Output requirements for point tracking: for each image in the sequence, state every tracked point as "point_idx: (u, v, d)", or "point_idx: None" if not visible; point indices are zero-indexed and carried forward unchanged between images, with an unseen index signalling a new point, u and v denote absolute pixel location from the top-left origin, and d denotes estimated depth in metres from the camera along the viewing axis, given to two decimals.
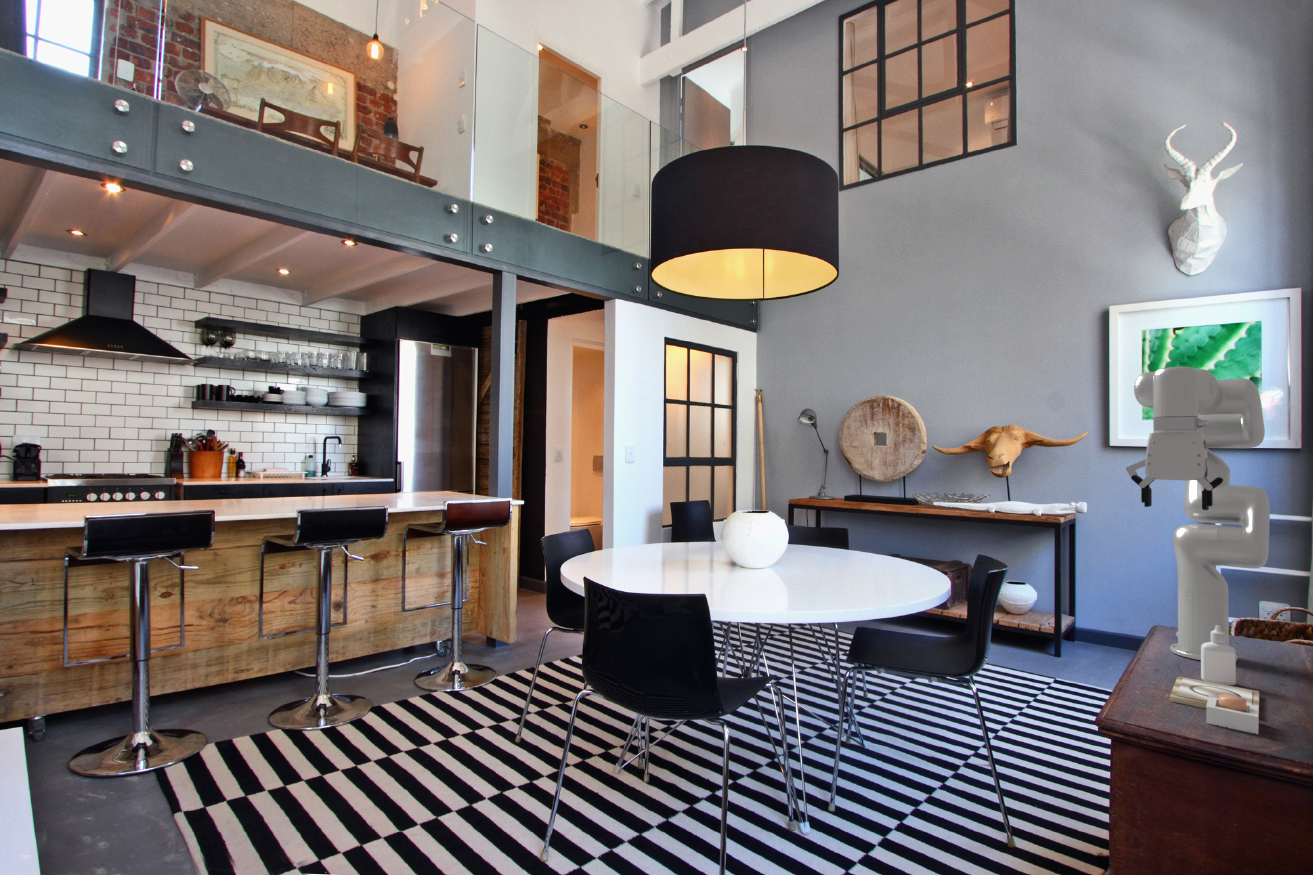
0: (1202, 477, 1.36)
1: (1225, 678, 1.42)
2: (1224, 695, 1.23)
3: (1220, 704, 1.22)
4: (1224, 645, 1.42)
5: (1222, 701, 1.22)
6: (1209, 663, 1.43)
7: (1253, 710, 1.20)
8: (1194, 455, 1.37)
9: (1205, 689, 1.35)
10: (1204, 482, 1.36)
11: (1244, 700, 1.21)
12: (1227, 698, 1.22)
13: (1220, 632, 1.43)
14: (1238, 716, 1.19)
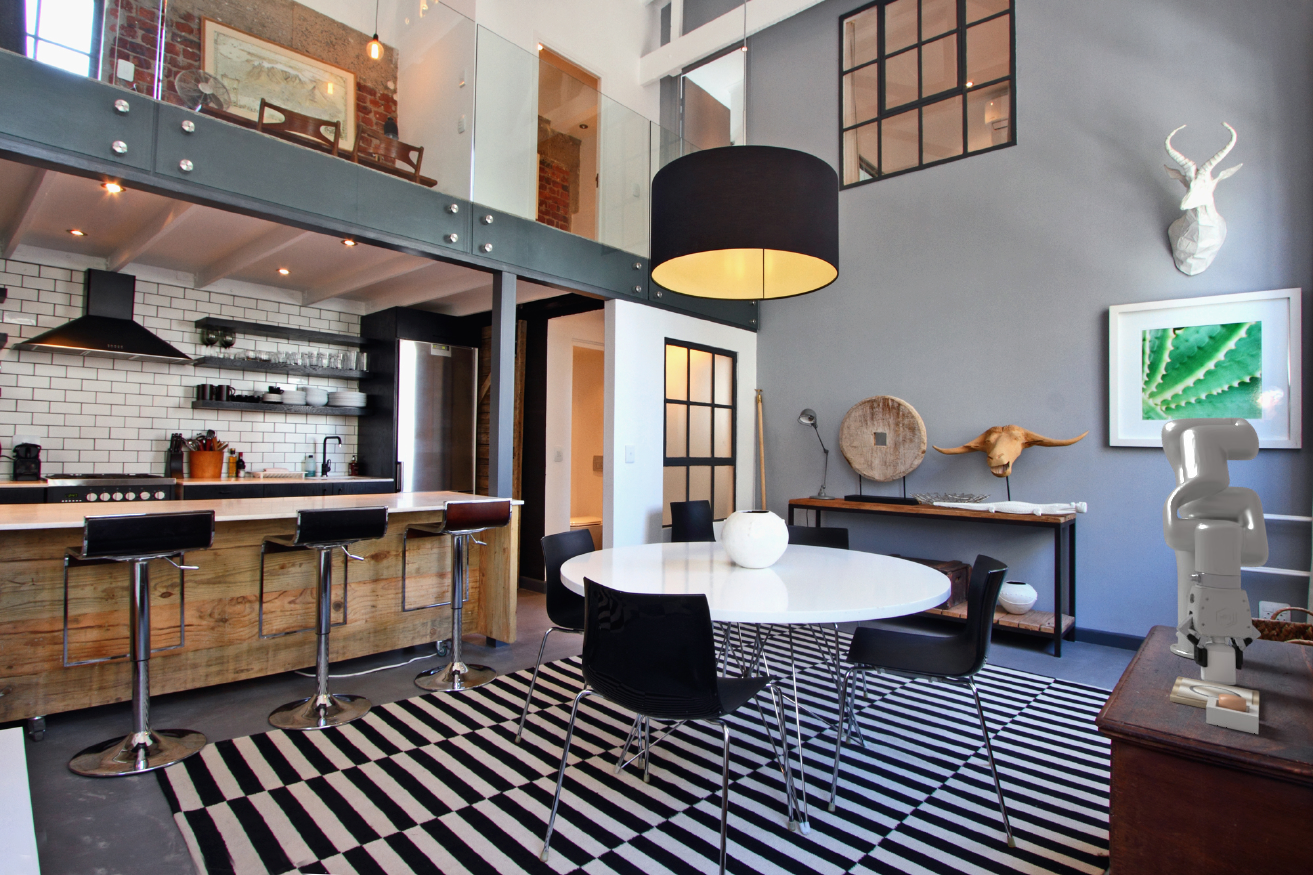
0: None
1: (1225, 678, 1.42)
2: (1224, 695, 1.23)
3: (1220, 704, 1.22)
4: (1224, 645, 1.42)
5: (1222, 701, 1.22)
6: (1209, 663, 1.43)
7: (1253, 710, 1.20)
8: None
9: (1205, 689, 1.35)
10: None
11: (1244, 700, 1.21)
12: (1227, 698, 1.22)
13: None
14: (1238, 716, 1.19)
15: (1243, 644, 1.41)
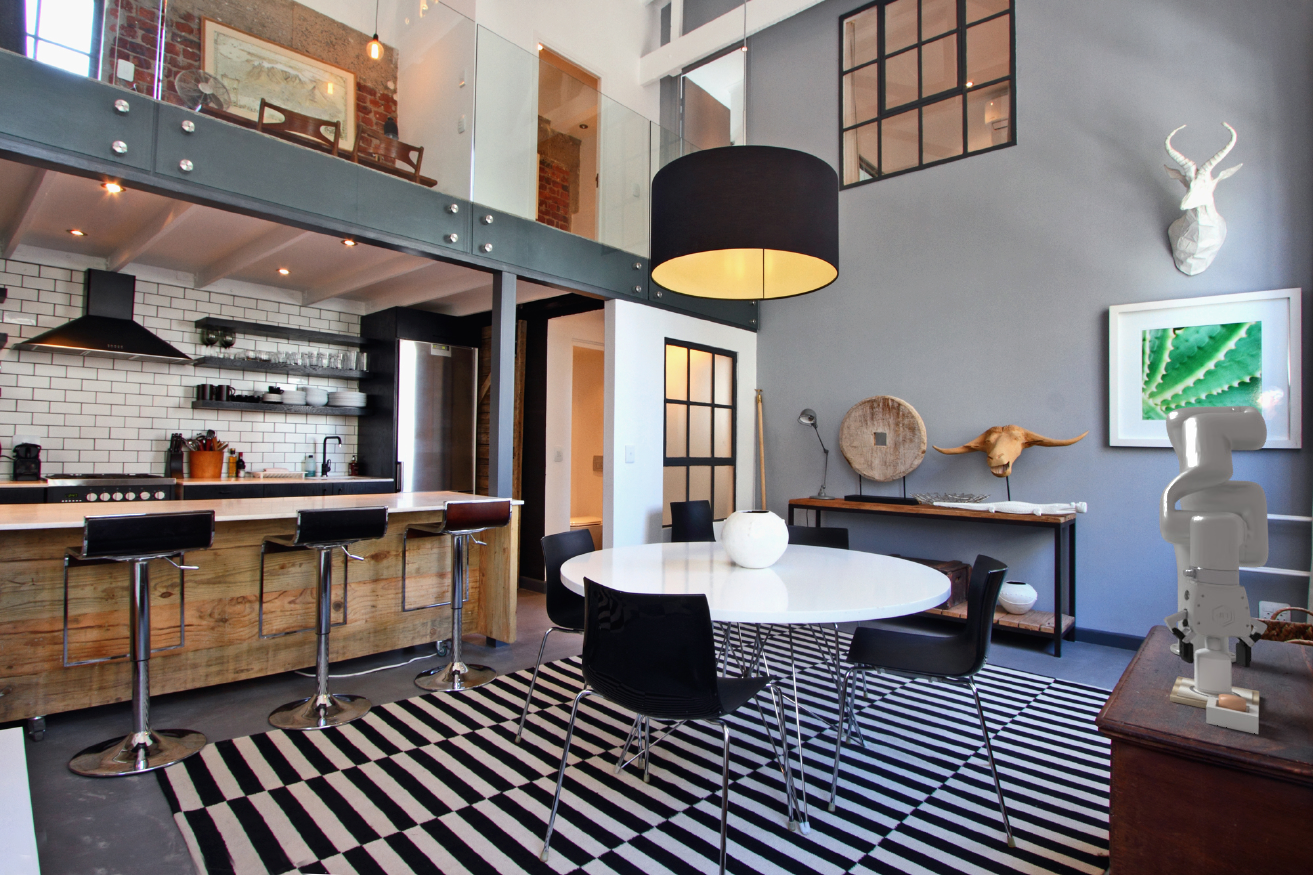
0: None
1: (1220, 687, 1.32)
2: (1224, 695, 1.23)
3: (1220, 704, 1.22)
4: (1219, 652, 1.33)
5: (1222, 701, 1.22)
6: (1203, 671, 1.34)
7: (1253, 710, 1.20)
8: None
9: None
10: None
11: (1244, 700, 1.21)
12: (1227, 698, 1.22)
13: (1215, 638, 1.33)
14: (1238, 716, 1.19)
15: (1250, 640, 1.32)
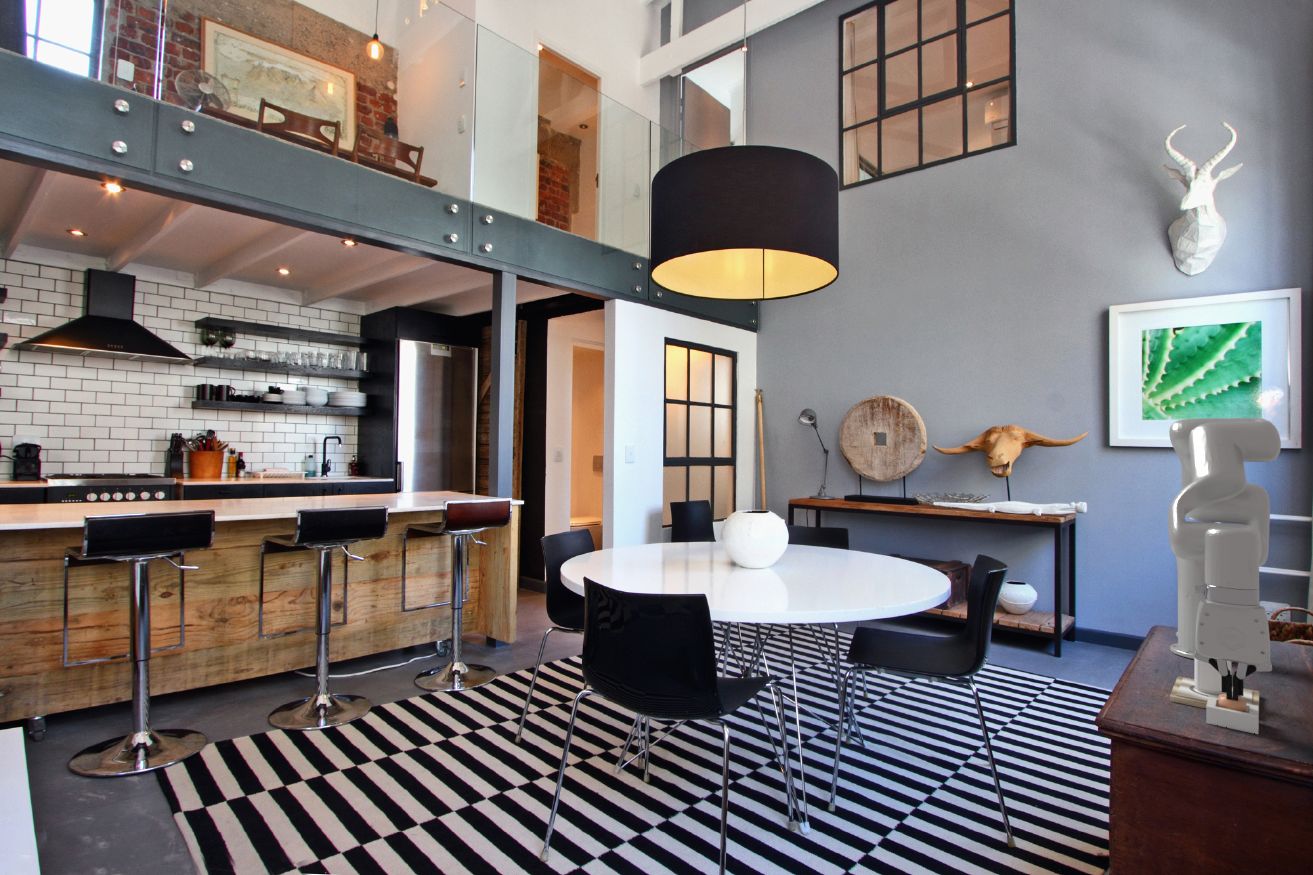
0: None
1: (1220, 687, 1.32)
2: (1224, 695, 1.23)
3: (1220, 704, 1.22)
4: None
5: (1222, 701, 1.22)
6: (1203, 671, 1.34)
7: (1253, 710, 1.20)
8: None
9: None
10: None
11: (1244, 700, 1.21)
12: None
13: None
14: (1238, 716, 1.19)
15: (1244, 672, 1.20)
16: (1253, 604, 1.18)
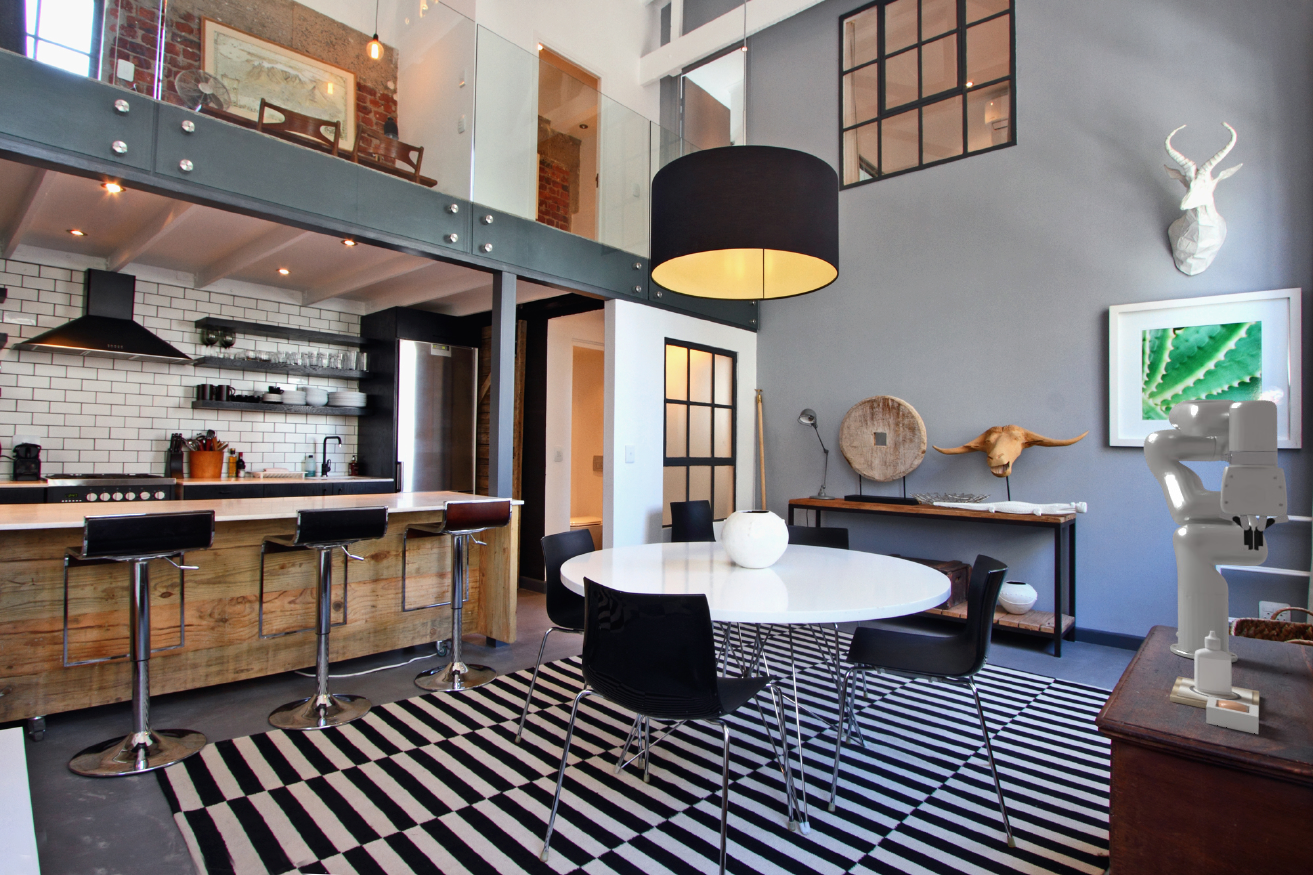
0: None
1: (1220, 687, 1.32)
2: (1224, 701, 1.23)
3: None
4: (1219, 652, 1.33)
5: (1222, 707, 1.22)
6: (1203, 671, 1.34)
7: (1253, 710, 1.20)
8: None
9: None
10: None
11: (1244, 706, 1.21)
12: (1227, 704, 1.21)
13: (1215, 638, 1.33)
14: (1238, 716, 1.19)
15: (1264, 525, 1.37)
16: (1272, 464, 1.35)
